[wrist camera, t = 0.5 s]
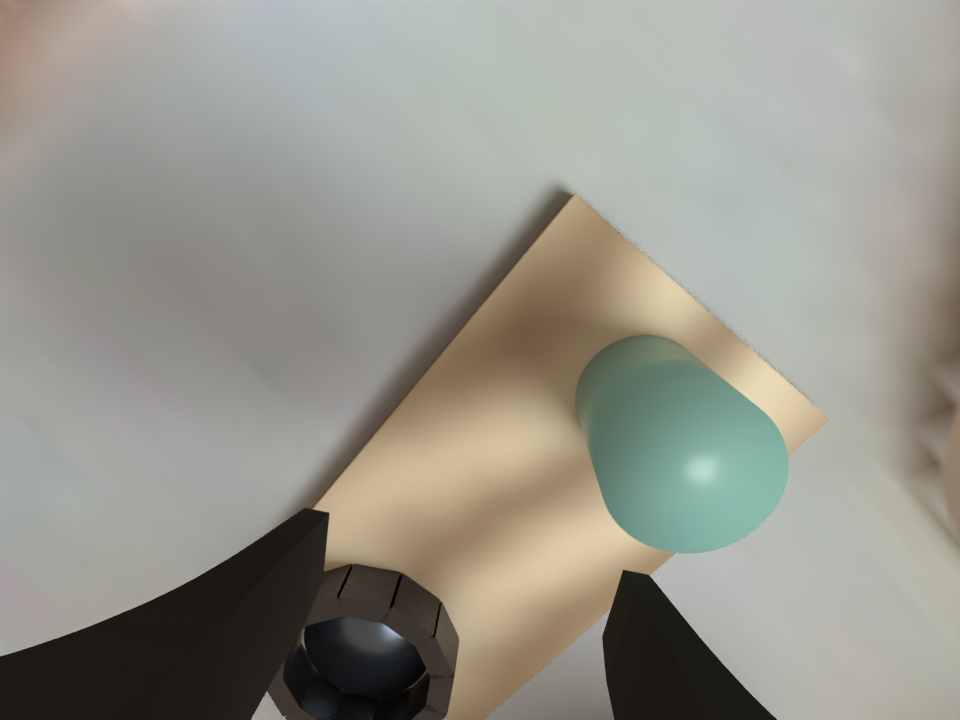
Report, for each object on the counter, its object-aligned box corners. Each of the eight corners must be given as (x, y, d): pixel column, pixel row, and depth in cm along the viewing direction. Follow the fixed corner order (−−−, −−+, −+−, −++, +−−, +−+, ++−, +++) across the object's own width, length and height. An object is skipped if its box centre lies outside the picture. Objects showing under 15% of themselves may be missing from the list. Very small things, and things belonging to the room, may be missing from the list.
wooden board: (815, 409, 20) (830, 419, 19) (425, 752, 27) (421, 772, 26) (572, 194, 19) (575, 193, 18) (221, 617, 25) (210, 633, 24)
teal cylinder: (735, 391, 19) (829, 467, 13) (641, 479, 20) (690, 583, 15) (639, 308, 19) (694, 351, 13) (548, 404, 20) (562, 482, 14)
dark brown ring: (493, 637, 23) (491, 675, 21) (387, 735, 25) (377, 777, 24) (347, 532, 22) (330, 562, 20) (249, 644, 24) (226, 681, 22)
